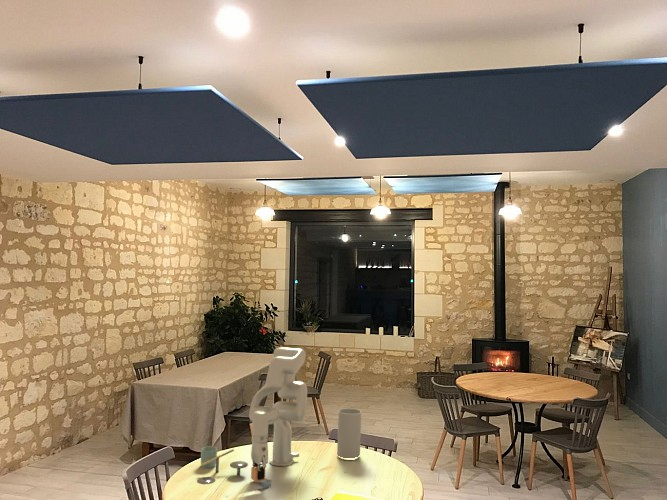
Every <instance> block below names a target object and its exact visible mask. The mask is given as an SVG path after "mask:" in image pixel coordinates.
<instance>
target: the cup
mask: <svg viewBox="0 0 667 500" xmlns="http://www.w3.org/2000/svg"><path fill="white" fill-rule="evenodd" d="M217 456H218V448H217V446H212V445H207V446H204V447H202V448H201V450H200V465H201V464H202V463H205V462H207V461H209V460H211V459H213V458H215V457H217ZM201 468H203V469H211V468H216V460H214V461H211V462H209V463H207V464H205V465H203V466H201Z"/></svg>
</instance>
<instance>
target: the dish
mask: <svg viewBox="0 0 667 500" xmlns="http://www.w3.org/2000/svg"><path fill="white" fill-rule="evenodd" d="M255 483H256V484H257V485H258V486H260V487H261V488H257V489H256V491H262V490H266V489H269V488H271V484H272V482H271V480H270V479H268V478H266V477H265V480H263V481H258V482H255Z"/></svg>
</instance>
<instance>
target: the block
mask: <svg viewBox="0 0 667 500" xmlns="http://www.w3.org/2000/svg"><path fill="white" fill-rule="evenodd" d="M261 466H262V465H260V468H261ZM250 468H251V469H250V470H251V471H250V473H251V474H250V479H252V481H253V482H255V483H256V482H258V481H263V480H265V478H266V468H265V471H264V479H261V480H258V479H257V475H258V471H259V470H258V466H257V467H253V466H252V467H250Z"/></svg>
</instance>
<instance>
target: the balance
mask: <svg viewBox="0 0 667 500" xmlns="http://www.w3.org/2000/svg"><path fill="white" fill-rule="evenodd" d="M232 452H235V449H234V448H232V449H230V450H228V451H226V452H224V453H222V454H219V455H217V457H215V458H213V459H211V460H209V461H207V462H205V463H202V464H201V463H200V466H201V467H202V466H203V465H205V464H207V463H209V462H211V461H214V460H216V465H215V473H216V474H217V473H219V467H220V466H219V465H220V459H221V458H222V457H224V456H227V455H228V454H230V453H232ZM248 465H249V463H248V462H246V461H241V460H238V461H233V462H231V463H229V467H231V468H232V469H236V476H241V469H246V468H247V467H248ZM196 482H197V483H198V484H200V485H209V484H213V483H215V482H216V478H214V477H211V476H205V477H199V478H198V479H197V480H196Z"/></svg>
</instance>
